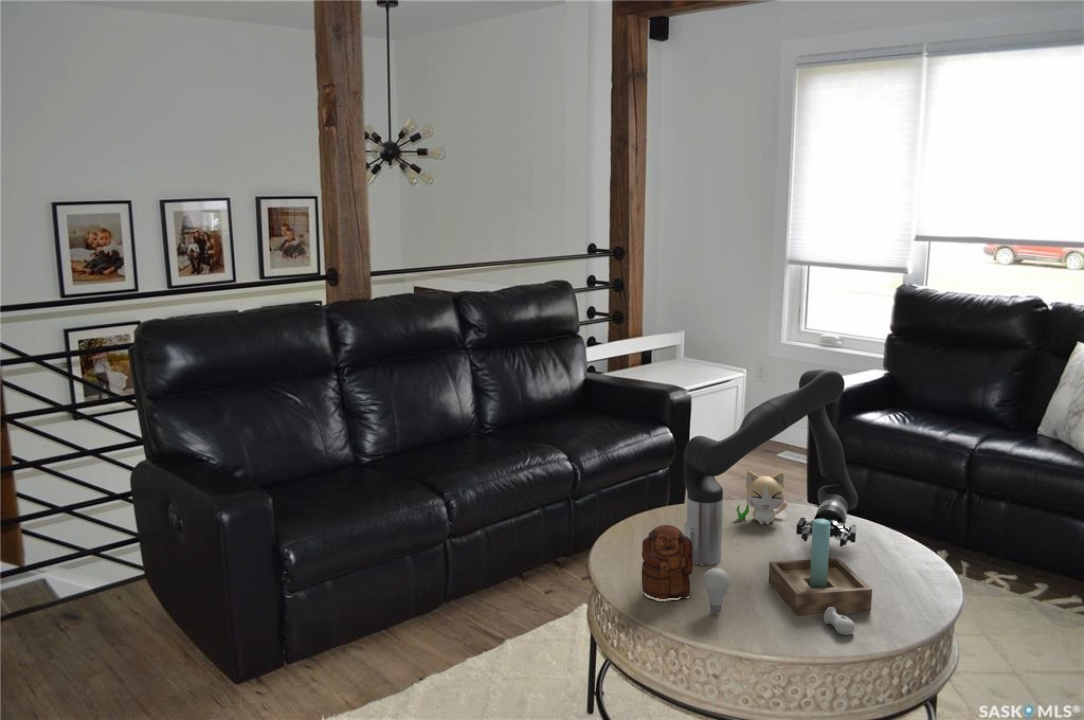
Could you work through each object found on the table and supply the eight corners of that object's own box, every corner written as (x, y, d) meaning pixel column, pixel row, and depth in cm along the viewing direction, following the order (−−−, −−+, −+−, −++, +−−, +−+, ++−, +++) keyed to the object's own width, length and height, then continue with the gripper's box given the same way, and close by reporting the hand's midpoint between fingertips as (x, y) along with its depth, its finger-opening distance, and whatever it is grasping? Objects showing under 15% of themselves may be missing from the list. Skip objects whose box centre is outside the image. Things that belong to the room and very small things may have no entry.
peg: (813, 600, 212) (817, 525, 209) (806, 592, 216) (810, 519, 213) (829, 599, 213) (833, 524, 209) (822, 591, 217) (826, 518, 213)
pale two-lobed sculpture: (856, 641, 196) (837, 638, 194) (836, 624, 203) (817, 620, 202) (863, 624, 195) (844, 620, 194) (842, 606, 203) (824, 603, 201)
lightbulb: (730, 609, 209) (731, 565, 206) (727, 621, 203) (728, 576, 201) (704, 605, 211) (705, 562, 208) (700, 617, 205) (701, 572, 203)
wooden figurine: (646, 604, 212) (647, 533, 208) (640, 592, 218) (640, 523, 214) (694, 600, 213) (696, 529, 210) (686, 588, 219) (688, 520, 216)
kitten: (737, 525, 259) (738, 476, 256) (735, 513, 269) (737, 466, 266) (789, 528, 257) (792, 479, 254) (786, 515, 266) (788, 468, 263)
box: (796, 616, 205) (797, 594, 204) (768, 582, 222) (769, 561, 221) (870, 611, 207) (872, 589, 206) (837, 578, 224) (838, 557, 223)
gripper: (803, 500, 234) (794, 521, 220) (860, 507, 229) (854, 530, 214) (802, 527, 236) (792, 550, 221) (858, 535, 230) (852, 559, 216)
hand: (823, 540), depth 218 cm, fingers open, 8 cm apart
